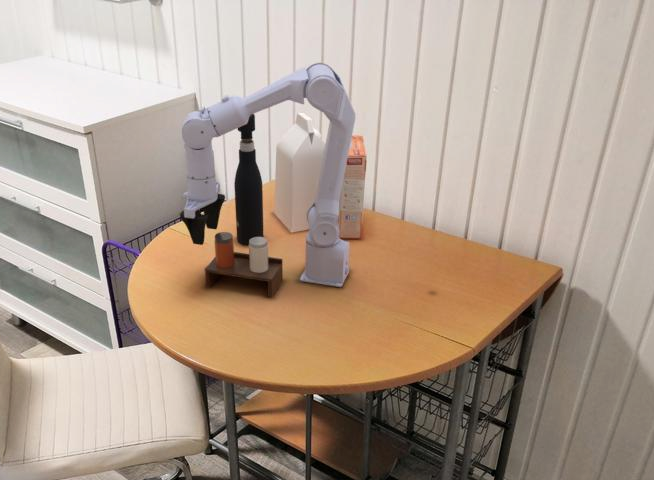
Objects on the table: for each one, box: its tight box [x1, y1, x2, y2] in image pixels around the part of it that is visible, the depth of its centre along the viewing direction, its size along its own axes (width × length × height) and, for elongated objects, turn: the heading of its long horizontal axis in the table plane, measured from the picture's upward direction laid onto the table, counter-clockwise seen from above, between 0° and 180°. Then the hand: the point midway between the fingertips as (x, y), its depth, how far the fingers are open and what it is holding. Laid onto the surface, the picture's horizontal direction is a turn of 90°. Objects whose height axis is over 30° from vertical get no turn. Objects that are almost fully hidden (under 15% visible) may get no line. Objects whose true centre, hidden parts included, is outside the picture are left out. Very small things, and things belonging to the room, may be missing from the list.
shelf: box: [204, 251, 284, 299], centre depth 159 cm, size 15×8×6 cm, turn 73°
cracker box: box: [338, 135, 368, 239], centre depth 178 cm, size 14×6×21 cm, turn 179°
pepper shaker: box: [214, 231, 235, 268], centre depth 157 cm, size 4×4×6 cm
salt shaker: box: [248, 237, 269, 273], centre depth 155 cm, size 4×4×6 cm
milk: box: [273, 112, 326, 233], centre depth 180 cm, size 12×12×26 cm
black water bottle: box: [233, 113, 265, 247], centre depth 169 cm, size 6×6×30 cm
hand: (205, 235), depth 157 cm, fingers open, 7 cm apart
